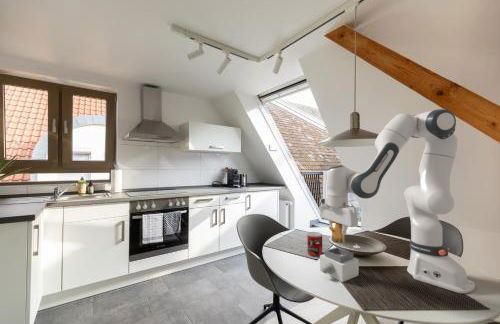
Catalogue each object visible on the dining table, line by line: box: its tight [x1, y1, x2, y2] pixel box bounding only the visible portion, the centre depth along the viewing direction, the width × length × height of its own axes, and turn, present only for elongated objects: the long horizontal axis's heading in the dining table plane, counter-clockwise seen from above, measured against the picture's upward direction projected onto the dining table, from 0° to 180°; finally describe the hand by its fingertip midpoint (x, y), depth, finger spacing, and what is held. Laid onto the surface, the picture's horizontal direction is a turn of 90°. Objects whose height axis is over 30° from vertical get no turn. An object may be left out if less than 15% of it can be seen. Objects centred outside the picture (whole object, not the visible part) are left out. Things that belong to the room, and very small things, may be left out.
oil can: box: [328, 222, 345, 244], centre depth 104 cm, size 8×5×8 cm
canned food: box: [306, 231, 323, 257], centre depth 126 cm, size 8×8×11 cm
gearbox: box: [319, 246, 360, 283], centre depth 103 cm, size 12×15×10 cm
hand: (338, 232), depth 104 cm, fingers closed on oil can, 5 cm apart
